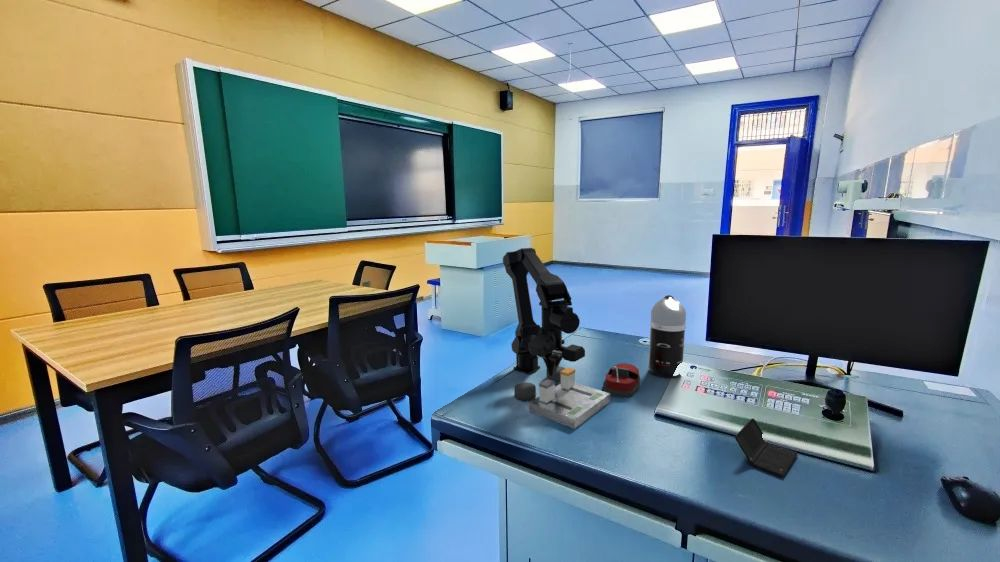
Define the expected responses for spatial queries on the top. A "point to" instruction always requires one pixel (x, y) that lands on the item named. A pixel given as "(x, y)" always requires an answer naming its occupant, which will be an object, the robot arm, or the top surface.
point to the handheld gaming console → (764, 451)
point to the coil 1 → (525, 391)
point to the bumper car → (622, 380)
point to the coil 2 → (556, 375)
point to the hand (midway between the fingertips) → (551, 375)
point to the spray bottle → (666, 336)
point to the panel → (571, 405)
